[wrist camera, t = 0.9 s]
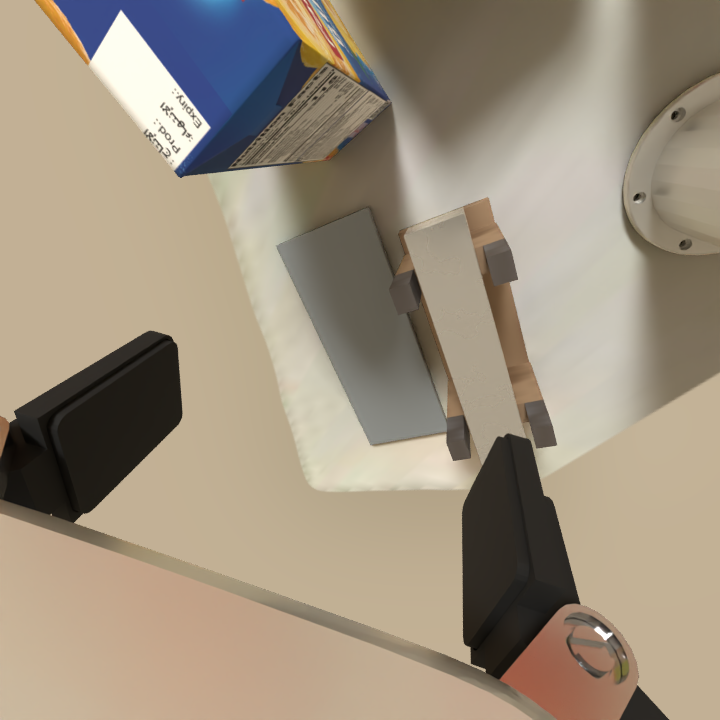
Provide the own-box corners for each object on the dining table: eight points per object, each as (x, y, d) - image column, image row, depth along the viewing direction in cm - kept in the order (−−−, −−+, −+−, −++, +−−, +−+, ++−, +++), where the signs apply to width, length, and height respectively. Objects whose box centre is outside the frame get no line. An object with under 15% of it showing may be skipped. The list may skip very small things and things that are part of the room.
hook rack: (488, 196, 33) (503, 218, 23) (535, 387, 41) (561, 464, 31) (399, 231, 36) (378, 262, 26) (458, 403, 44) (459, 478, 34)
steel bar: (463, 206, 27) (464, 213, 24) (529, 448, 35) (535, 472, 32) (408, 227, 28) (403, 236, 25) (484, 455, 36) (486, 478, 34)
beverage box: (330, 161, 34) (180, 178, 16) (247, 40, 31) (-64, -120, 13) (392, 104, 31) (300, 40, 13) (307, -36, 28) (17, -396, 10)
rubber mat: (368, 206, 35) (367, 208, 35) (449, 426, 45) (449, 431, 45) (279, 244, 39) (275, 246, 38) (371, 440, 49) (370, 444, 48)
